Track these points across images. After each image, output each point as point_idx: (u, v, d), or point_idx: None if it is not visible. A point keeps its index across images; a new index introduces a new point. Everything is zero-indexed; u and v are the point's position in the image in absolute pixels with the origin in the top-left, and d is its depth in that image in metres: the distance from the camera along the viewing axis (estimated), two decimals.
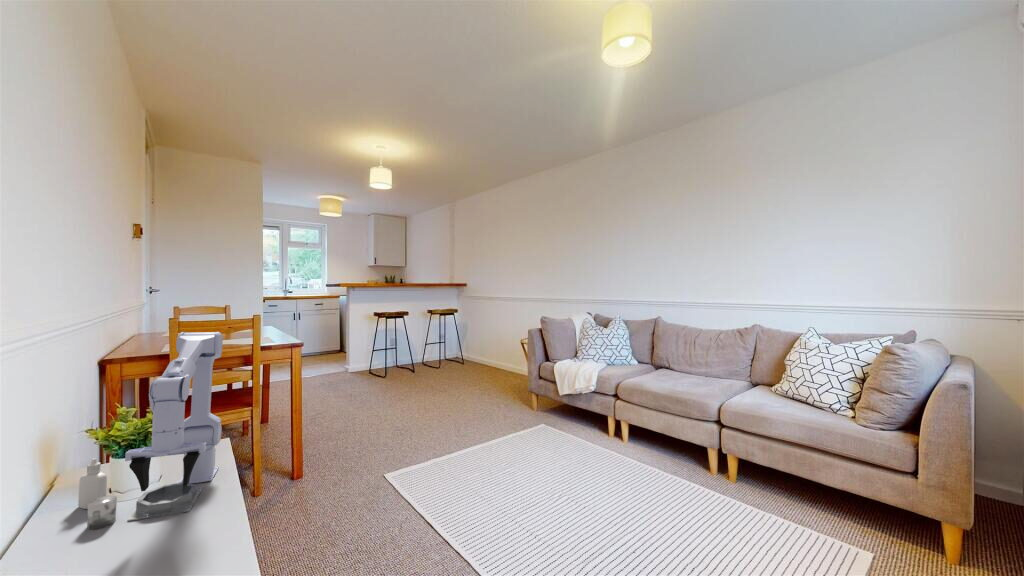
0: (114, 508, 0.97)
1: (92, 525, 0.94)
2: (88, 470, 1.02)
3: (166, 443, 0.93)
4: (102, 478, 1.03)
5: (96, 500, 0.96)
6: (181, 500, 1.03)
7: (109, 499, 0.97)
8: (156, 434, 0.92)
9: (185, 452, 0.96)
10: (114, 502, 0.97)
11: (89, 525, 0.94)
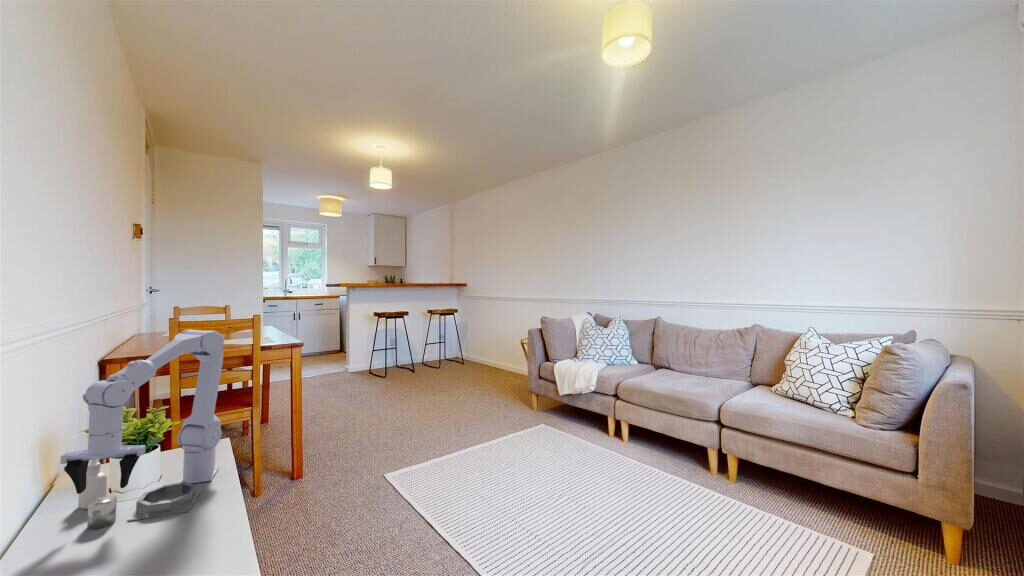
0: (114, 508, 0.97)
1: (92, 525, 0.94)
2: (88, 470, 1.02)
3: (102, 446, 0.94)
4: (102, 478, 1.03)
5: (96, 500, 0.96)
6: (181, 500, 1.03)
7: (109, 499, 0.97)
8: (92, 437, 0.93)
9: (123, 455, 0.97)
10: (114, 502, 0.97)
11: (89, 525, 0.94)
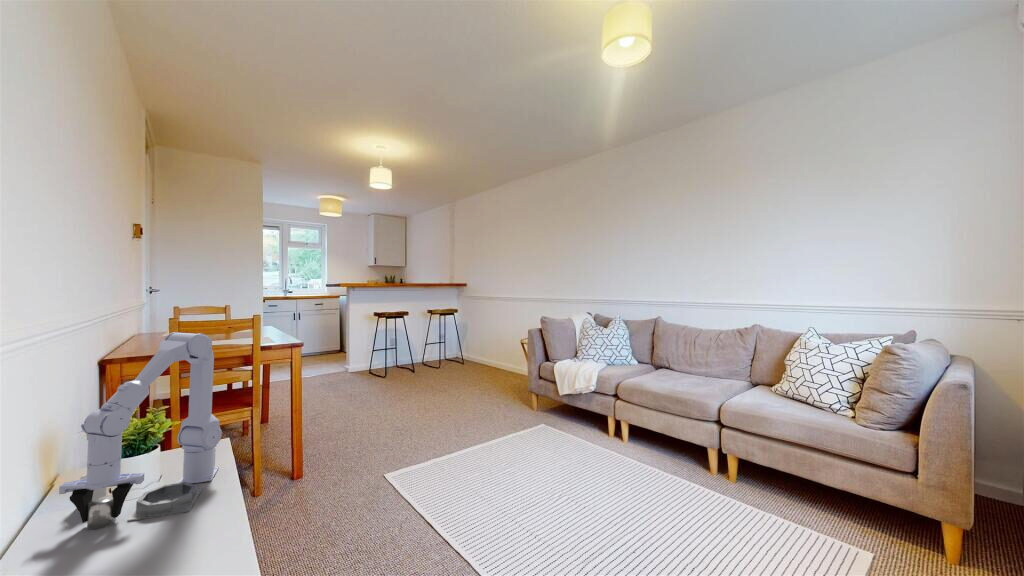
0: None
1: (92, 525, 0.94)
2: None
3: (101, 476, 0.94)
4: None
5: (96, 500, 0.96)
6: (181, 500, 1.03)
7: (109, 499, 0.97)
8: (90, 467, 0.93)
9: (122, 484, 0.97)
10: None
11: (89, 525, 0.94)
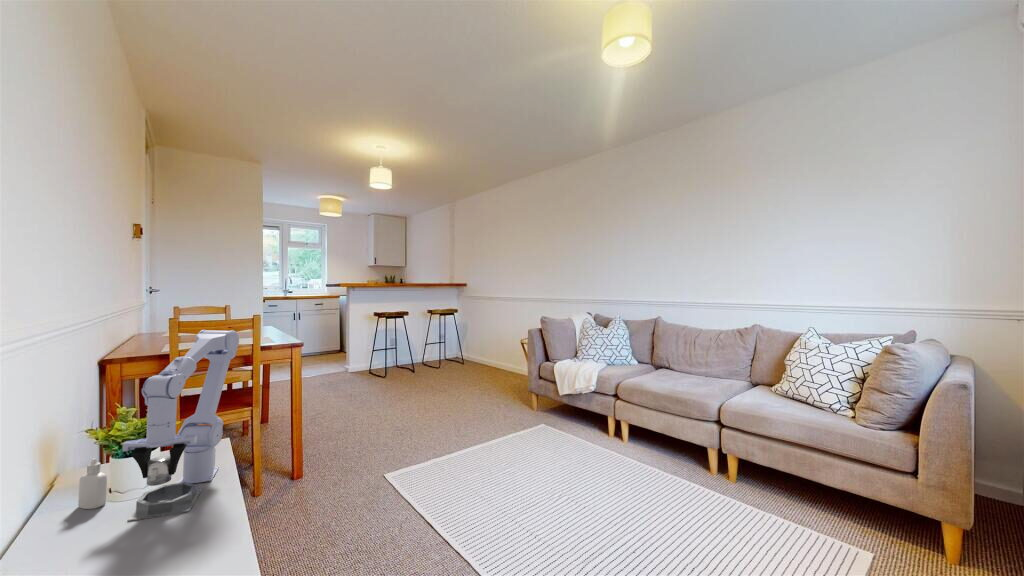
0: None
1: (151, 481, 1.01)
2: (88, 470, 1.02)
3: (159, 435, 1.02)
4: (102, 478, 1.03)
5: (154, 459, 1.04)
6: (181, 500, 1.03)
7: (165, 459, 1.04)
8: (150, 427, 1.01)
9: (177, 444, 1.05)
10: (170, 461, 1.04)
11: (148, 481, 1.01)
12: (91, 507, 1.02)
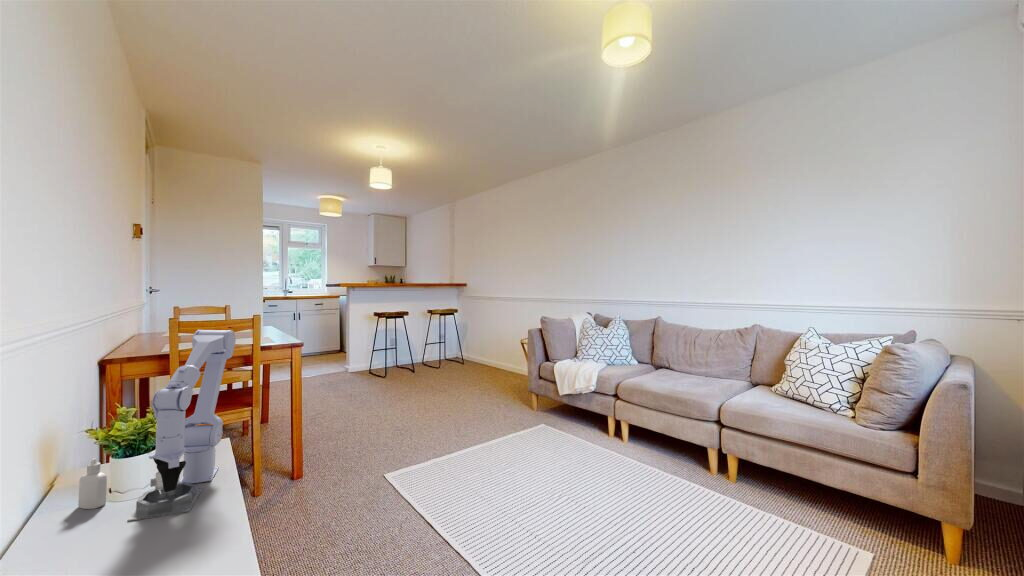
0: None
1: None
2: (88, 470, 1.02)
3: (156, 447, 1.03)
4: (102, 478, 1.03)
5: None
6: (181, 500, 1.03)
7: None
8: None
9: None
10: None
11: None
12: (91, 507, 1.02)
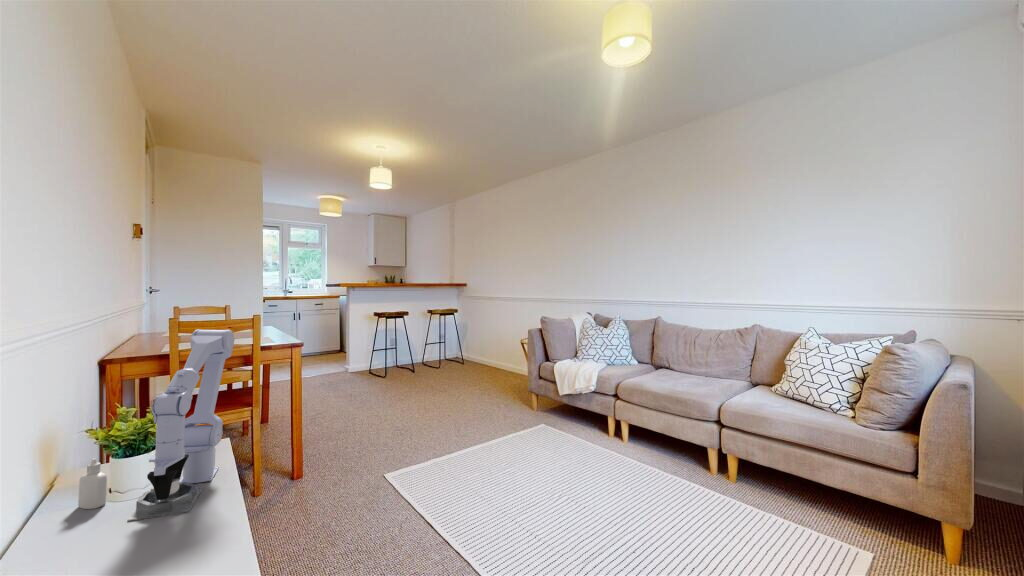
0: None
1: None
2: (88, 470, 1.02)
3: (155, 451, 1.04)
4: (102, 478, 1.03)
5: (173, 479, 1.07)
6: (181, 500, 1.03)
7: None
8: None
9: None
10: None
11: None
12: (91, 507, 1.02)
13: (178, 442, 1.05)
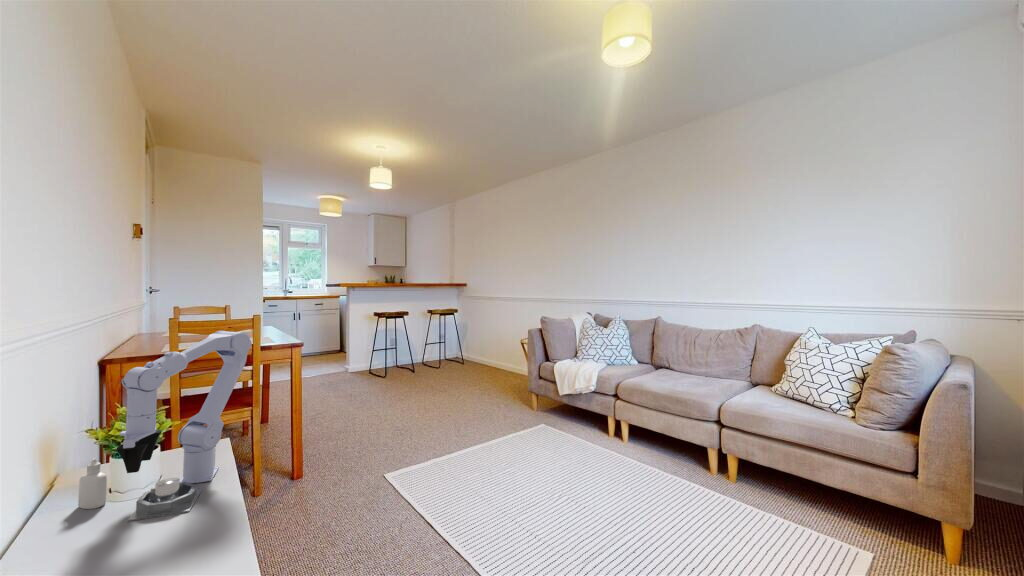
0: (161, 494, 1.03)
1: None
2: (88, 470, 1.02)
3: (126, 425, 1.04)
4: (102, 478, 1.03)
5: (173, 479, 1.07)
6: (181, 500, 1.03)
7: (166, 483, 1.04)
8: None
9: None
10: (161, 488, 1.03)
11: None
12: (91, 507, 1.02)
13: (149, 416, 1.04)
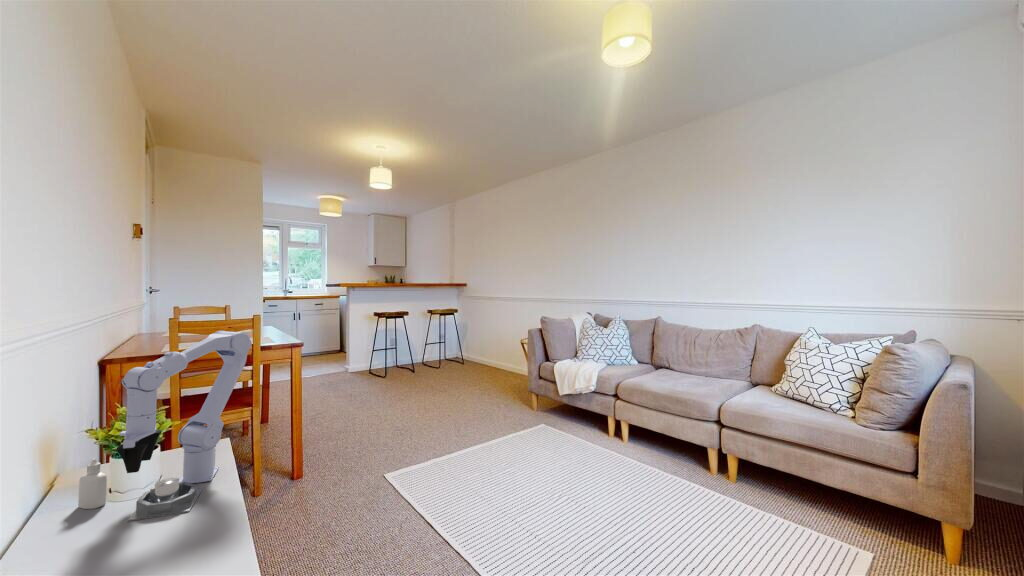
0: (161, 494, 1.03)
1: None
2: (88, 470, 1.02)
3: (126, 425, 1.04)
4: (102, 478, 1.03)
5: (172, 479, 1.07)
6: (181, 500, 1.03)
7: (165, 483, 1.04)
8: None
9: None
10: (161, 488, 1.03)
11: None
12: (91, 507, 1.02)
13: (149, 416, 1.04)
